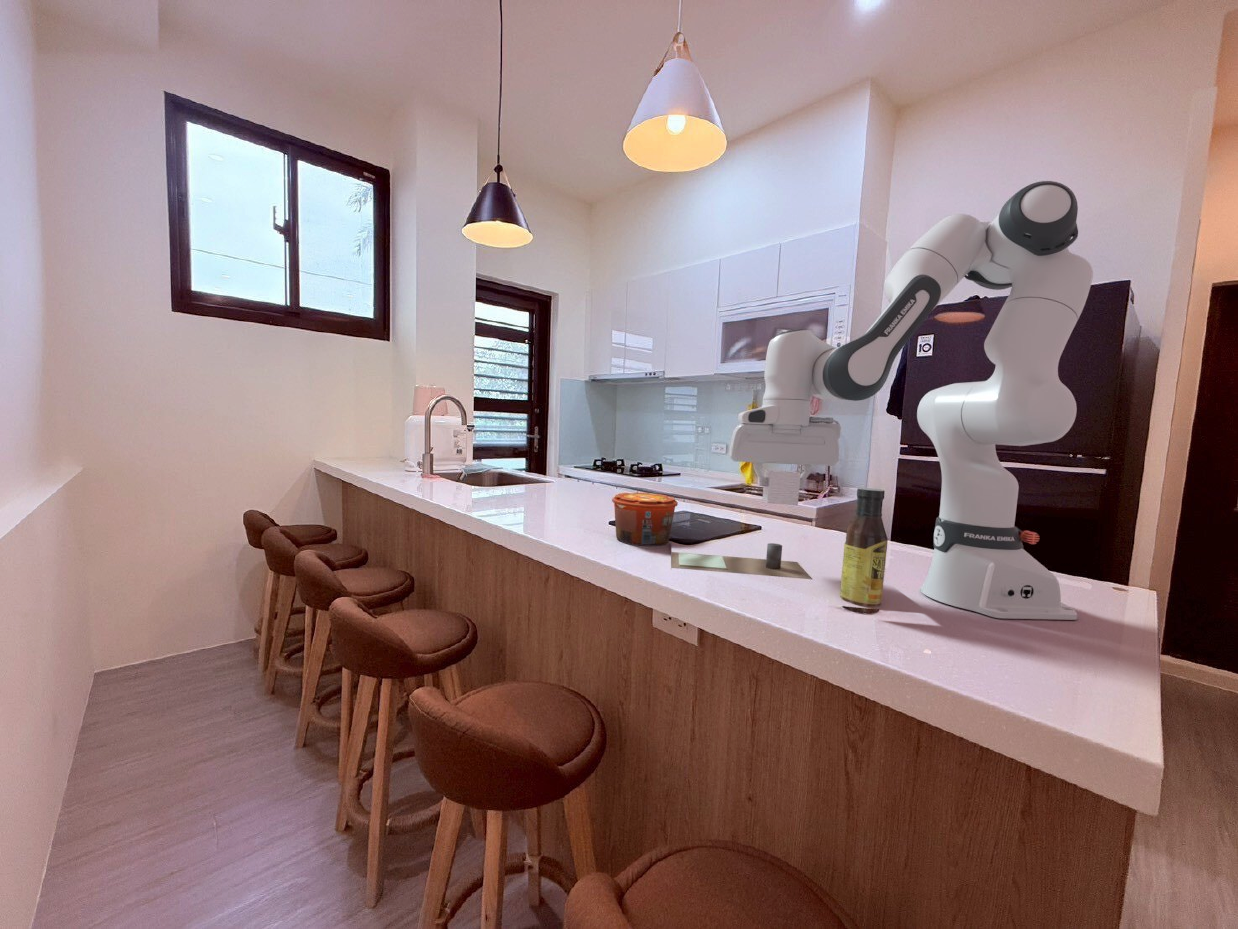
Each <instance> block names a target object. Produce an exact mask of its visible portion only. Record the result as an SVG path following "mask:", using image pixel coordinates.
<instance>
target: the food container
mask: <svg viewBox="0 0 1238 929" xmlns="http://www.w3.org/2000/svg"><path fill="white" fill-rule="evenodd" d="M611 501H612V502H613V506H614V522H615V523H614V524H615V537H616V539H617V540H618V541H620V542H621V543H624V544H628V545H632V546H638V547H639V546H641V547H654V546H655V547H657V546H662V545H663V546H664V545H666V544H667V543H669V540H670V534H671V531H672V524H673V519H674V515H675V510H676V507H677V506H678V505H679V504H678V501H676V499H675V498H674V496H672V497H671V496H670V497H669V496H668V495H667V494H666V495H665V494H658V493H655V494H653V493H650V492H649V493H648V492H634V493H633V492H632V493H629V492H621V493H618V494H615V495H614V497H612V499H611ZM612 502H611V503H612Z"/></svg>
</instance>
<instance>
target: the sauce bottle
mask: <svg viewBox="0 0 1238 929" xmlns="http://www.w3.org/2000/svg"><path fill="white" fill-rule="evenodd" d="M856 498H857V501H856V509H855V516H854V518H853V519H852V520H851V521H850V522H849V523H848V525H847V529H846V531H845V532H846V533H845V534H846V536H845V542H844V548H843V556H842V567H841V579H840V589H839V590H840V591H839V595H840V598H841V599H842V600H843V601H845V602H847V603H849V604H852V605H856V606H861V607H856V606H846V605H842V606H841V607H842V608H843V609H845V610H847V611H851V612H854V613H858V614H868V615H869V614H870V615H871V614H872V615H873V614H877V613H878V612H880V608H874V607H878V606H880V605H881V604H882V601H883V599H882V598H883V590H884V581H885V570H886V561H887V552H888V551H887V550H888V536H887V532H886V530H885V525H884V521H883V518H882V517H883V512H882V511H883V502H884V501H883V500H884V499H885V490H883V489H878V488H867V487H857V489H856ZM866 607H867V608H866ZM872 607H873V608H872Z"/></svg>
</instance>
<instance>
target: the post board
mask: <svg viewBox="0 0 1238 929" xmlns="http://www.w3.org/2000/svg"><path fill="white" fill-rule="evenodd" d="M766 546H767V547H766V557H765V558H766V559H765V558H763V559H762V558H753V557H752V558H751V557H741V556H739V557H738V556H727V555H726V556H725V555H715V554H714V555H713V554H703V553H690V552H689V553H687V552H675V551H671V552H670V553H671V554H670V569H682V570H683V569H684V570H693V571H694V570H696V571H706V572H707V571H708V572H718V573H733V574H743V575H744V574H746V575H753V576H754V575H755V576H756V575H757V576H758V575H759V576H767V577H768V576H769V577H779V578H791V579H792V578H793V579H805V580H813V577H811V575H810V574H809V573H808V572H807V571H806V570H805V569H804V568H803V566H802V565H801V564H799V563H798V561H793V560H792V561H791V560H790V561H789V560H788V561H787V560H782V556H783V554H782V553H783V545H782V544H779V543H769V542H768V543H767V545H766Z"/></svg>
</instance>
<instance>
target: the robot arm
mask: <svg viewBox="0 0 1238 929" xmlns="http://www.w3.org/2000/svg"><path fill="white" fill-rule="evenodd" d="M1078 208H1079V207H1078V200H1077V197H1076V195H1075V193H1074V192H1073V190H1072V189H1071V188H1069V187H1068V186H1067V185H1064V184H1063V183H1061V182H1057V181H1051V180H1040V181H1036V182H1033V183H1030V184H1029V185H1027V186H1025V187H1023V188H1021V189H1019V190H1018V191H1017V192H1016V193H1014V194H1013V195H1012V196H1010V198H1009V199H1008V200H1007V201H1006V202H1005V203H1004V204H1003V206H1002V208H1001V210H1000V211H999V213H997V215H996V216H995V217H994V219H993V220H992V222H990V221H980V220H979V219H977V218H976V217H975V216H972V215H970V214H965V213H956V214H955V213H954V214H950V215H949V216H945V217H944V218H943V219H941V220H940V221H938V222H937V223H936V224H935V225H933V226H932V227H931V228H929V229H928V230H927V231H926V232H925V233H923V235H921V236H920V237H919V238H918V239H917V240H916V241H915V242H914V243H913V244H912V245H911V246H910V247H909V248H908V249H907V250H906V251H905V253H904V254H903V255H902V256H901V257H900V258H899V259H898V260H897V262H896V263H895V264H894V265H893V267H892V269H891V270H890V272H889V273H888V275H887V277H886V278H885V280H884V285H883V289H884V290H883V291H884V295H885V298H886V299H887V301H888V302H889V304H888V306H886V308H885V309H884V310H883V311H882V313H881V314H880V315H879V316H878V317H877V319H876V320H874V322H873V323H872V324H871V326H870V327H869V328H868V329H867V331H865V333H863V335H862V336H860V337H858V338H856V339H854V340H851V341H850V342H847V343H845V344H843V345H840V346H839V347H836V346H834V345H832V344H829V343H827V342H826V341H823V340H822V339H821V338H819V337H817V336H816V335H815V333H813V332H812V330H811V329H807V328H798V329H797V328H796V329H791V330H786V331H782V332H780V333H778V334H776V335H775V336H773V337H772V338H771V339H770V341H769V343H768V346H767V350H766V356H765V364H764V375H763V377H764V378H763V379H764V384H765V390H764V393H763V396H762V405H761V406H760V407H753V408H752V409H748V410H745V411H741V412H740V413H739V414H738V415H737V416H738V417H737V421H738V423H739V424H738V425H737V426H735V428H734V429H733V431H732V434H731V435H732V436H731V439H730V446H729V451H728V452H729V458H730V459H731V460H732V461H733V462H739V463H753V465H752V466H753V470H754V472H755V474H756V475H757V477H758V478H757V479H758V480H757V486H758V487H763V486H767V477H764V476H763V473H762V472H761V469H762V468H763V464H778V465H779V464H780V465H784V464H785V465H801V470H803V471H802V474H801V475H800V486H799V489H805V485H806V484H805V483H806V480H807V479H808V477H809V476H810V474H811V473H812V471H813V470H812V469H813V466H824V467H828V466H829V467H834V466H836V465H837V463H838V462H839V458H840V446H839V439H840V437H841V424H840V422H839V421H837V420H835V419H834V418H833V417H830V416H828V417H822V416H821V417H820V416H811V407H812V406H811V403H812V398H817V399H819V400H823V401H852V402H853V401H854V402H856V401H863V400H867V399H869V398H871V397H873V396H875V395H876V394H878V392H880V390H881V389H882V388H883V387H884V385H885V383H886V382H887V380H888V377H889V375H890V373H891V369H892V367H893V364H894V361H895V359H896V358H897V356H898V354H900V352H901V350H902V349H904V347H905V346H906V344H907V343H908V341H909V340H910V339H911V338H912V337H913V335H914V334H915V333H916V332H917V331H918V330H919V328H920V327H921V326H922V325H923V323H924V322H925V321H926V320H927V318H928V317H929V315H930V314H931V313H932V311H933V310H934V309H935V308H936V307H937V306H938V305H939V304H940V303H941V302H942V301H943V300H944V299H945V298H946V297H947V296H948V295H949V294H950V293H951V292H952V290H954V289H955V287H957V285H958V284H959V283H960V282H961V281H962V280H963V279H966V280H967V281H972V282H974V283H975V284H977V285H978V286H980V287H982V288H984V289H989V290H993V291H994V290H995V291H999V290H1000V291H1001V290H1006V289H1010V288H1011V289H1010V292H1009V295H1008V296H1007V298H1006V300H1005V302H1004V303H1003V305H1002V307H1001V308H1000V311H999V313H998V315H997V317H996V319H995V320H994V323H993V324H992V326H991V328H990V331H989V333H988V334H987V336H986V338H985V340H984V342H983V348H984V352H985V355H986V357H987V358H988V359H989V361H990V362H991V363H992V364H994V365H995V368H994V371H993V373H992V375H991V376H990V377H989V378H987V380H982V381H971V382H969V381H968V382H955V383H952V384H948V385H943V386H941V387H938V388H934V389H931V390H930V391H928V392H927V393H926V394H924V396H923V397H922V398H921V399H920V401H919V404H918V406H917V412H916V419H917V423H918V426H919V428H920V429H921V430H922V432H924V433H923V434H926V436H927V437H928V438H929V439H930V441H931V443H932V444H933V446H934V448H935V451H936V454H937V457H938V460H939V461H938V462H939V465H940V470H941V471H940V472H941V491H940V505H939V515H938V516H937V517H936V519H935V526H934V532H933V548H934V549H933V554H932V559H931V562H930V565H929V569H928V572H927V574H926V577H925V580H924V582H923V585H922V586H921V589H920V592H921V593H922V594H924V595H925V596H927V597H929V598H931V599H933V600H935V601H936V602H940V603H943V604H946V605H950V606H952V607H956V608H960V609H963V610H968V611H973V612H976V613H979V614H982V615H985V616H988V617H992V618H996V619H1009V620H1011V619H1013V620H1014V619H1015V620H1018V619H1019V620H1020V619H1021V620H1024V619H1025V620H1060V621H1061V620H1067V621H1069V620H1070V621H1071V620H1072V621H1073V620H1075V621H1076V620H1078V613H1077V612H1076V609H1073V608H1072V607H1071V606H1068V605H1067V604H1065V603H1063V602H1061V600H1062V598H1061V597H1062V595H1061V586H1060V582H1059V580H1058V579H1057V576H1056V575H1055V574H1054V573H1053V572H1051V571H1050V570H1048V568H1047V567H1045V565H1043V564H1041V562H1039V561H1038V560H1037V559H1036V558H1034V556H1032V555H1031V554H1030V553H1029V552H1027V551H1026V550H1025V549H1024V545H1023V542H1025V543H1027V544H1030V545H1036V544H1037V543H1038V542H1039V541H1040V535H1039V534H1038V533H1037V532H1035V531H1030V530H1022V529H1020V528H1019V527H1018V526H1015V522H1016V514H1017V505H1018V498H1019V488H1020V487H1019V482H1018V479H1017V478H1016V477H1015V476H1014V474H1013V473H1011V472H1010V471H1008V470H1007V469H1006V468H1005V467H1004V466H1003V465H1002V463H1001V461H1000V460H999V457H998V455H997V450H996V446H997V445H1000V446H1002V445H1003V446H1013V447H1014V446H1016V447H1017V446H1018V447H1025V446H1031V445H1040V444H1044V443H1052V442H1055V441H1058V440H1059V439H1061V438H1063V437H1064V436H1065V435H1066V434H1067V433H1068V432H1069V431H1070V429H1072V427H1073V425H1074V423H1075V420H1076V417H1077V410H1078V408H1077V402H1076V399H1075V396H1074V395H1073V393H1072V391H1071V390H1070V389H1069V388H1068V386H1066V385H1065V384H1064V383H1062V381H1061V380H1060V377H1059V363H1060V359H1061V356H1062V354H1063V353H1064V352H1063V351H1064V350H1065V347H1066V345H1067V344H1068V340H1069V339H1070V337H1071V334H1072V332H1073V330H1074V328H1075V326H1077V322H1078V321H1079V319H1080V316H1081V314H1082V313H1083V310H1084V308H1085V306H1086V302H1087V299H1088V297H1089V293H1090V290H1091V286H1092V281H1093V279H1094V278H1093V276H1094V271H1093V267H1092V265H1091V263H1090V262H1089V261H1088V260H1087V259H1086V258H1084V257H1083V256H1080V255H1078V254H1075V253H1073V252H1071V251H1069V248H1068V247H1070V246H1071V245H1072V244H1073V243H1075V241H1076V240H1077V239H1078V236H1079V228H1078V223H1077V218H1078V211H1079V210H1078Z"/></svg>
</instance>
